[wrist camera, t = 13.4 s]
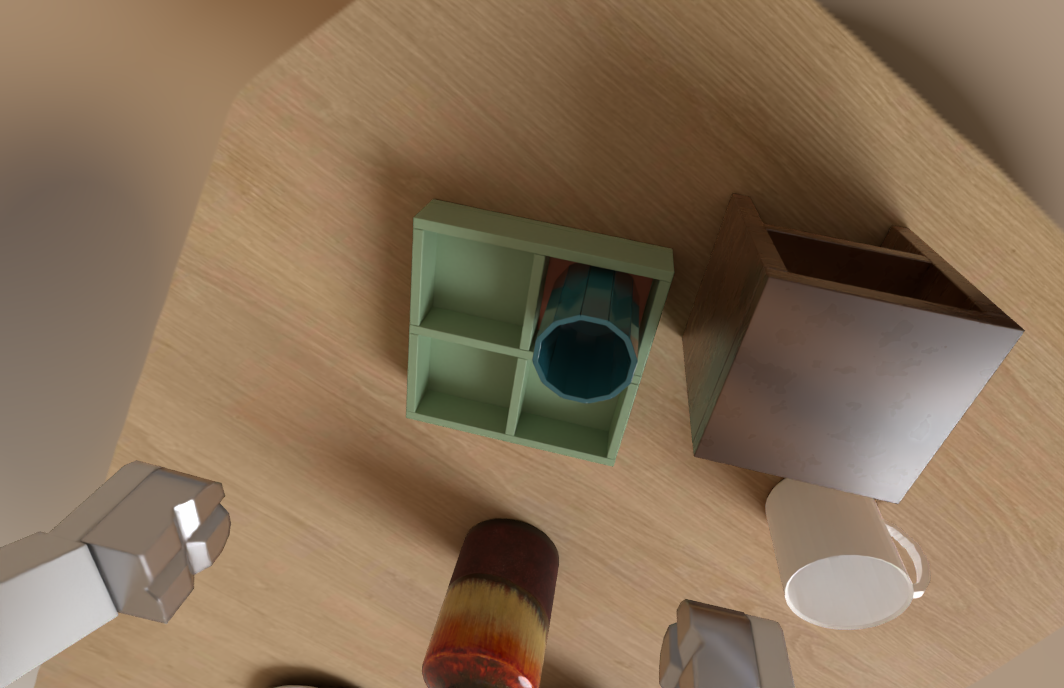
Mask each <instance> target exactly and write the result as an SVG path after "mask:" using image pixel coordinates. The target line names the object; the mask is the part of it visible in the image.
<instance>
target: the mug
mask: <svg viewBox="0 0 1064 688" xmlns="http://www.w3.org/2000/svg"><path fill="white" fill-rule="evenodd" d="M765 511H766V517H767V521H768V525H769V530H770V534H771V538H772V543H773V547H774V551H775V556H776V560H777V564H778V569H779V573H780V578H781V582H782V586H783V591H784V595H785V599H786V601H787V604H788V606H789V607H790V608H791V610H792V611H793V612H794V613H795V614H796V615H798V616H799V617H800V618H802V619H804V620H805V621H807V622H810V623H812V624H815V625H817V626H821V627H825V628H831V629H838V630H856V629H865V628H870V627H875V626H878V625H881V624H884V623H887V622H889V621H891V620H893V619H895V618H896V617H898V616H899V615H900V614H902V613H903V612H904V611H905V610H906V609H907V608H908V606H909V605H910V603H911V601H912V599H913V598H919V597H921V596H922V595H923V593H924V592H925V590H926V588H927V587H928V585H929V583H930V578H931V574H930V565H929V561H928V558H927V556H926V555H925V553H924V552H923V550H922V548H921V546H920V545H919V543H917V542H916V541H915V540H914V539H913V538H912V537H909V535H908V534H907V533H906V532H905V531H904V530H903V529H902V528H900V527H898V526H897V525H896V524H894V523H892V522H890V521H888V520H885V519H883V518H882V515H881V513H880V511H879V509H878V506H877V504H876V502H875V500H874V498H870V497H866V496H861V495H857V494H853V493H848V492H844V491H840V490H835V489H831V488H827V487H823V486H818V485H814V484H810V483H805V482H801V481H797V480H792V479H788V478H785V479H783V480H782V481H781V482H779V483H778V484H777V485H776V486H775V487H774V488H773V489H772V491H771V493H770V494H769V496H768V498H767V501H766V505H765ZM891 536H893V537H894V538H895V540H897V541H898V542H899V543H900V544H901V546H903V547H904V548H906V550H907V552H908V554H909V555H910V557H911V558H912V560H913V562H914V565H915V569H916V573H917V582H916V583H914V584H912V582H911V579H910V577H909V575H908V573H907V570H906V568H905V566H904V564H903V562H902V559H901V557H900V555H899V553H898V551H897V548H896V546H895V544H894V542H893V540H892V537H891Z"/></svg>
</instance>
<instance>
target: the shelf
mask: <svg viewBox="0 0 1064 688" xmlns="http://www.w3.org/2000/svg"><path fill="white" fill-rule="evenodd" d="M1024 331H1025V330H1024V329H1023V328H1021V327H1020V326H1019V325H1018V324H1017V323H1016V322H1015V321H1013V320H1012V319H1011V318H1010V317H1009V316H1008V315H1006V314H1005V313H1004V312H1003V311H1002V310H1001V309H1000V308H999V307H997V306H996V305H995V304H994V303H993V302H992V301H991V300H989V299H988V298H987V297H986V296H985V295H984V294H983V293H982V292H980V291H979V290H978V289H977V288H976V287H975V286H974V285H972V284H971V283H970V282H969V281H968V280H967V279H966V278H965V277H963V276H962V275H961V274H960V273H959V272H958V271H957V270H955V269H954V268H953V267H952V266H951V265H950V264H949V263H948V262H946V261H945V260H944V259H943V258H942V257H941V256H940V255H938V254H937V253H936V252H935V251H934V250H933V249H932V248H931V247H929V246H928V245H927V244H926V243H925V242H924V241H923V240H921V239H920V238H919V237H918V236H917V235H916V234H915V233H914V232H912V231H911V230H910V229H909V228H904V227H899V226H894V225H893V226H891V228H890V230H889V232H888V234H887V236H886V238H885V240H884V242H883V244H882V246H881V247H877V246H872V245H868V244H863V243H858V242H853V241H848V240H843V239H838V238H833V237H828V236H823V235H818V234H813V233H808V232H803V231H798V230H794V229H789V228H784V227H779V226H774V225H769V224H763V222H762V220H761V218H760V216H759V214H758V212H757V210H756V208H755V206H754V204H753V203H752V201H751V199H750V197H749V196H744V195H739V194H734V193H733V194H732V196H731V199H730V202H729V205H728V208H727V210H726V213H725V216H724V219H723V222H722V225H721V228H720V231H719V233H718V236H717V239H716V242H715V245H714V248H713V251H712V254H711V256H710V259H709V262H708V265H707V268H706V271H705V274H704V277H703V279H702V282H701V285H700V288H699V291H698V294H697V297H696V300H695V302H694V305H693V308H692V311H691V314H690V317H689V320H688V323H687V325H686V328H685V331H684V334H683V337H682V342H683V352H684V362H685V372H686V383H687V393H688V403H689V413H690V423H691V433H692V443H693V452H694V457H698V458H702V459H706V460H711V461H715V462H719V463H724V464H728V465H732V466H737V467H741V468H745V469H749V470H754V471H758V472H762V473H767V474H771V475H775V476H780V477H784V478H788V479H792V480H797V481H801V482H805V483H810V484H814V485H818V486H823V487H827V488H831V489H835V490H840V491H844V492H848V493H853V494H857V495H861V496H866V497H870V498H874V499H878V500H883V501H887V502H891V503H896V504H899V502H900V501H901V500H902V498H903V497H904V496H905V494H906V493H907V491H908V490H909V489H910V487H911V486H912V485H913V483H914V482H915V481H916V479H917V478H918V476H919V475H920V474H921V472H922V471H923V470H924V468H925V467H926V466H927V464H928V463H929V461H930V460H931V459H932V457H933V456H934V455H935V453H936V452H937V450H938V449H939V448H940V446H941V445H942V444H943V442H944V441H945V440H946V438H947V437H948V435H949V434H950V433H951V431H952V430H953V429H954V427H955V426H956V425H957V423H958V422H959V420H960V419H961V418H962V416H963V415H964V414H965V412H966V411H967V409H968V408H969V407H970V405H971V404H972V403H973V401H974V400H975V399H976V397H977V396H978V394H979V393H980V392H981V390H982V389H983V388H984V386H985V385H986V383H987V382H988V381H989V379H990V378H991V377H992V375H993V374H994V373H995V371H996V370H997V368H998V367H999V366H1000V364H1001V363H1002V362H1003V360H1004V359H1005V358H1006V356H1007V355H1008V353H1009V352H1010V351H1011V349H1012V348H1013V347H1014V345H1015V344H1016V342H1017V341H1018V340H1019V338H1020V337H1021V336H1022V334H1023V333H1024Z"/></svg>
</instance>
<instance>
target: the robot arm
mask: <svg viewBox="0 0 1064 688" xmlns="http://www.w3.org/2000/svg"><path fill="white" fill-rule="evenodd" d="M224 497H225V494H224V490H223V487H222V483H219V482H216V481H212V480H208V479H204V478H201V477H197V476H193V475H189V474H186V473H182V472H178V471H175V470H171V469H167V468H165V467H161V466H157V465H153V464H149V463H145V462H141V461H137V460H136V461H134V462H131V463H129V464H127V465H124V466H123V467H122V468H121V469H120V470H118V471H117V472H116V473H115V474H114V475H113V476H112V477H111V478H110V479H108V480H107V481H106V482H105V483H104V484H103V485H102V486H101V487H99V488H98V489H97V490H96V491H95V492H94V493H93V494H92V495H91V496H89V497H88V498H87V499H86V500H85V501H84V502H83V503H82V504H80V505H79V506H78V507H77V508H76V509H75V510H74V511H73V512H71V513H70V514H69V515H68V516H67V517H66V518H65V519H64V520H62V521H61V522H60V523H59V524H58V525H57V526H56V527H55V528H54V529H52V530H51V531H50V532H49V533H44V532H37V533H35V534H32V535H30V536H27V537H25V538H23V539H20V540H18V541H15V542H13V543H11V544H8V545H5V546H3V547H1V548H0V688H4V687H6V686H7V685H9V684H11V683H12V682H13V681H15V680H17V679H18V678H20V677H22V676H23V675H25V674H26V673H28V672H29V671H31V670H33V669H34V668H36V667H37V666H39V665H41V664H42V663H44V662H45V661H47V660H49V659H50V658H52V657H53V656H55V655H56V654H58V653H60V652H61V651H63V650H64V649H66V648H68V647H69V646H71V645H72V644H74V643H75V642H77V641H79V640H80V639H82V638H83V637H85V636H87V635H88V634H90V633H91V632H93V631H94V630H96V629H98V628H99V627H101V626H102V625H104V624H106V623H107V622H109V621H110V620H112V619H113V618H115V617H117V616H118V613H117V612H119V613H123V614H127V615H132V616H136V617H140V618H144V619H148V620H152V621H157V622H161V623H165V624H167V623H168V621H169V620H170V619H171V618H172V616H173V615H174V614H175V612H176V611H177V610H178V609H179V607H180V606H181V605H182V603H183V602H184V601H185V599H186V598H187V597H188V596H189V594H190V593H191V592H192V590H193V589H194V575H195V574H197V573H199V572H201V571H202V570H204V569H206V568H208V567H210V566H212V564H213V563H214V562H215V560H216V559H217V557H218V556H219V555H220V553H221V552H222V550H223V548H224V546H225V544H226V541H227V539H228V537H229V534H230V526H231V521H230V516H229V513H228V512H227V510H226V509H225V508H224V507H223V506H222V505H221V504H220V502H221V500H222V499H223V498H224ZM659 684H660V686H661V687H662V688H795V685H794V681H793V676H792V671H791V666H790V662H789V657H788V652H787V648H786V643H785V638H784V633H783V630H782V628H781V626H780V625H779V623H778V622H776V621H773V620H769V619H764V618H760V617H756V616H751V615H747V614H744V612H739V611H735V610H731V609H727V608H722V607H718V606H714V605H709V604H705V603H701V602H697V601H692V600H688V599H685V600H683V601H682V602H681V603H680V605H679V607H678V609H677V623H674V624H672V625H669V627H668V629H667V631H666V634H665V636H664V639H663V644H662V648H661V653H660V665H659Z"/></svg>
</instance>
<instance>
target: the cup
mask: <svg viewBox="0 0 1064 688" xmlns="http://www.w3.org/2000/svg"><path fill="white" fill-rule="evenodd" d="M639 302H640V297H639V294H638V291H637V288H636V285H635V282H634V279H633V277H632V276H631V275H629V274H628V273H625V272H620V271H615V270H611V269H606V268H601V267H596V266H592V265H587V264H582V263H578V262H577V263H573V264H571V265H569V266H568V267H567V268H566V269H565V270H564V271H563V273H562V274H561V275H560V276H559V277H558V278H557V279H556V281H555V283H554V286H553V289H552V292H551V295H550V298H549V301H548V304H547V307H546V310H545V313H544V316H543V319H542V322H541V325H540V328H539V331H538V334H537V337H536V341H535V347H534V352H533V358H532V362H533V365H534V367H535V369H536V371H537V374H538V376H539V378H540V380H541V382H542V384H544V385H545V386H546V387H548V388H549V389H550V390H552V391H553V392H554V393H556V394H557V395H558V396H559V397H562V398H563V399H568V400H572V401H576V402H581V403H585V404H587V403H588V404H589V403H594V402H599V401H604V400H609V399H612V398H614V397H615V396H616V395H618V394H619V393H620V392H621V391H623V390H624V389H625V388H626V387H627V386H629V385H630V384H631V382H632V379H633V376H634V373H635V369H636V366H637V363H638V335H639Z"/></svg>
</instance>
